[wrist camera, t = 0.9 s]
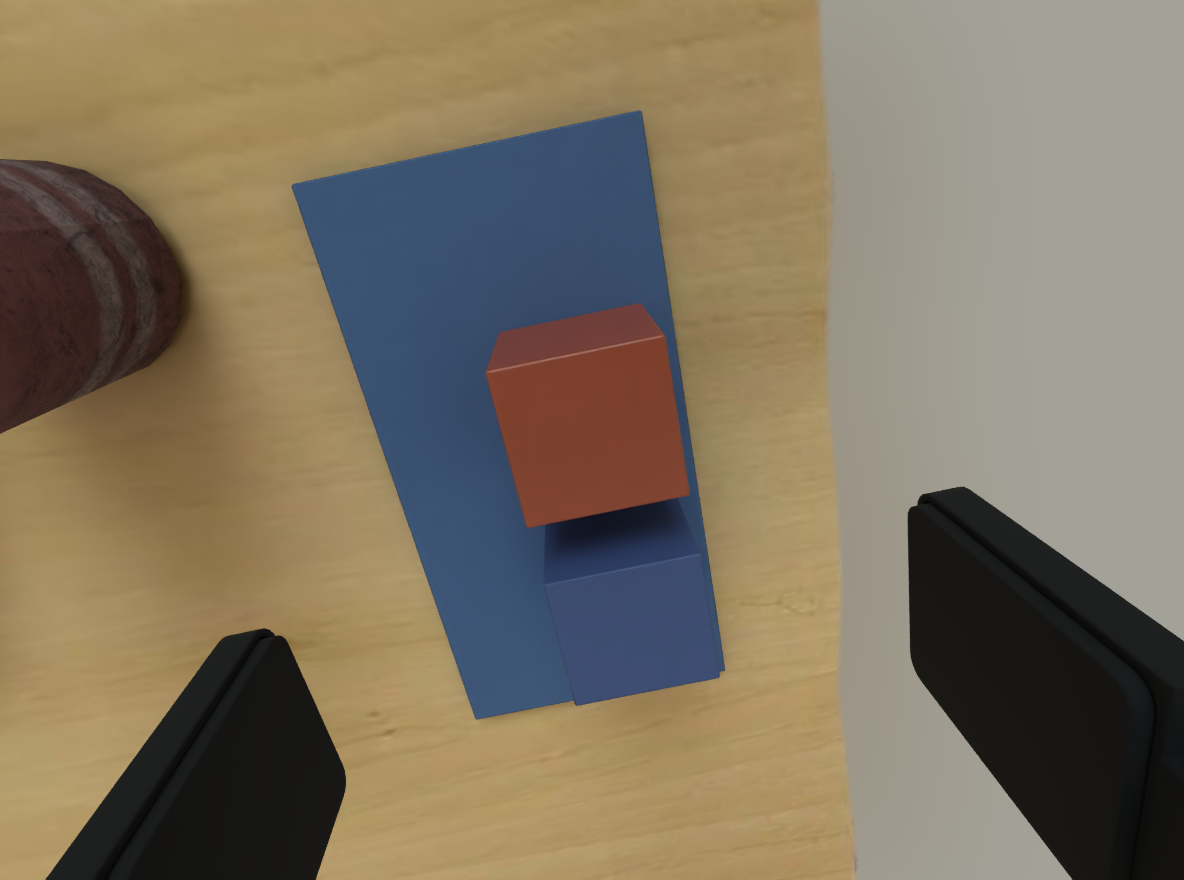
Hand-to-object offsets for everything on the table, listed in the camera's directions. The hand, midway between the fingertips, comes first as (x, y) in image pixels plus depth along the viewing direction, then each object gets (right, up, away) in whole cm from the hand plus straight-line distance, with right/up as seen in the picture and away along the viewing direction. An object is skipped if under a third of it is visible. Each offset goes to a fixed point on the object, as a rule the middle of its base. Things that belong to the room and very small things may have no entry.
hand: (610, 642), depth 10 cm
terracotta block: (0, +5, +11) cm, 12 cm away
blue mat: (-2, +2, +13) cm, 13 cm away
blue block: (+1, -1, +14) cm, 14 cm away
